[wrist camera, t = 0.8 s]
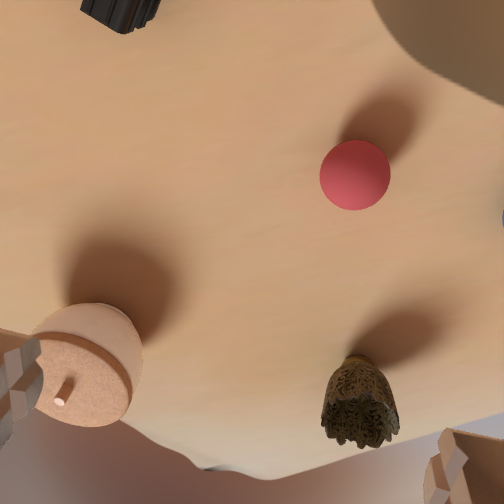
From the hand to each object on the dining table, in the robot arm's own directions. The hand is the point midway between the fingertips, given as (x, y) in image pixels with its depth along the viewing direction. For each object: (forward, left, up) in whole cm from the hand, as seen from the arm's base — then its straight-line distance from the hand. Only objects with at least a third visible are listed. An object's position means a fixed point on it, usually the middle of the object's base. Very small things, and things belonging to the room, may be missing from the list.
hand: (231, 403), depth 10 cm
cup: (+30, +9, -33) cm, 46 cm away
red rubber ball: (+7, +4, -30) cm, 31 cm away
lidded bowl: (+31, -20, -33) cm, 49 cm away
